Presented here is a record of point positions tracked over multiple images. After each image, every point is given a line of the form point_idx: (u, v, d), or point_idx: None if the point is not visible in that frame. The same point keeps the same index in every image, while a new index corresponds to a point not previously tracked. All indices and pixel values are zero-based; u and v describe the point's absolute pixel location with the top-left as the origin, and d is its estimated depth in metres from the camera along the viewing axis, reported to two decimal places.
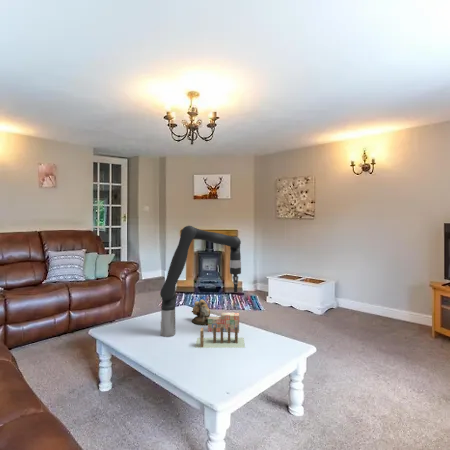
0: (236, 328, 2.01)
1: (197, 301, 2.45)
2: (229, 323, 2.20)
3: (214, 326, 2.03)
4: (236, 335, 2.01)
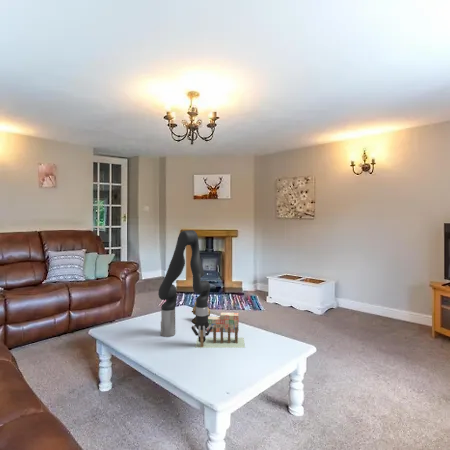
0: (236, 328, 2.01)
1: None
2: (228, 323, 2.20)
3: (214, 326, 2.03)
4: (236, 335, 2.01)
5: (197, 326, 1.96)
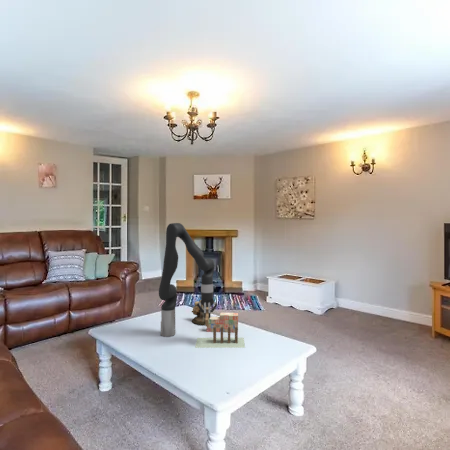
0: (236, 328, 2.01)
1: (197, 301, 2.45)
2: (228, 323, 2.20)
3: (214, 326, 2.03)
4: (236, 335, 2.01)
5: (203, 303, 2.02)
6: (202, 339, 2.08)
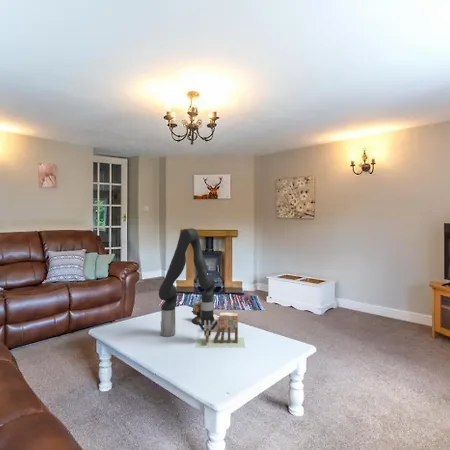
0: (236, 328, 2.01)
1: (197, 301, 2.45)
2: (227, 323, 2.20)
3: (220, 327, 2.03)
4: (236, 335, 2.01)
5: (203, 320, 2.02)
6: (202, 339, 2.08)
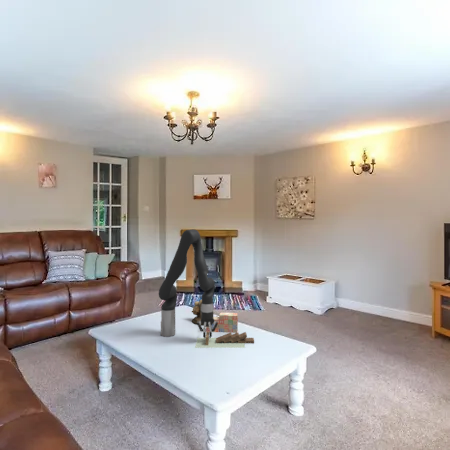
0: (252, 342, 2.01)
1: (197, 301, 2.45)
2: (227, 323, 2.20)
3: (231, 335, 2.03)
4: (245, 342, 2.01)
5: (202, 322, 2.02)
6: (202, 339, 2.08)
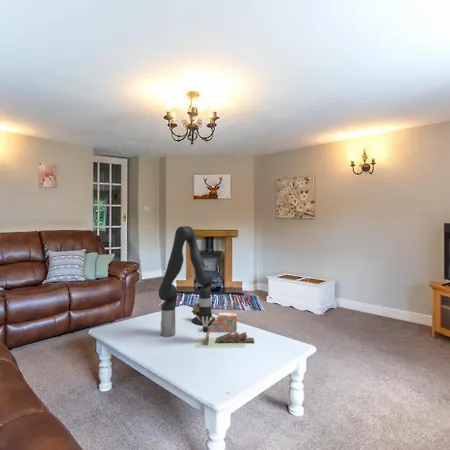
0: (252, 342, 2.01)
1: (197, 301, 2.45)
2: (226, 323, 2.20)
3: (231, 335, 2.03)
4: (245, 342, 2.01)
5: (201, 317, 2.02)
6: (202, 339, 2.08)
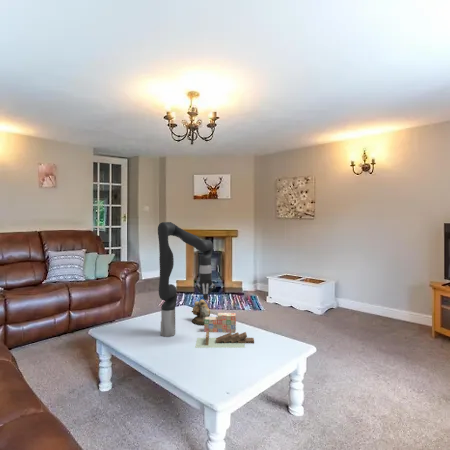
0: (252, 342, 2.01)
1: (197, 301, 2.45)
2: (225, 323, 2.20)
3: (231, 335, 2.03)
4: (245, 342, 2.01)
5: (201, 284, 2.02)
6: (202, 339, 2.08)
